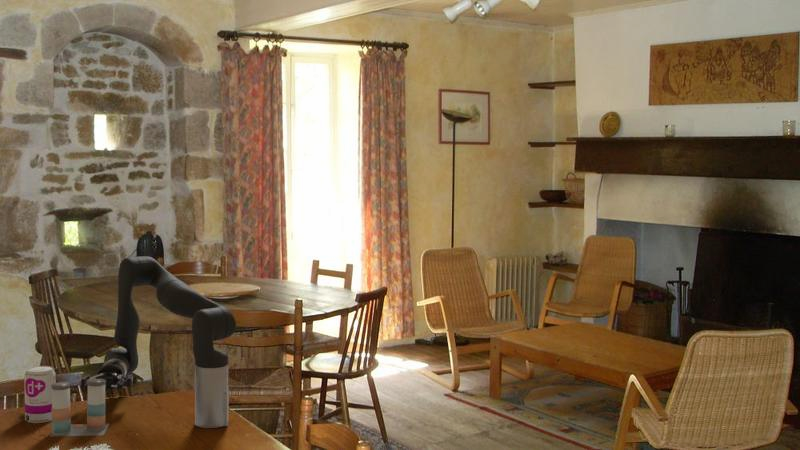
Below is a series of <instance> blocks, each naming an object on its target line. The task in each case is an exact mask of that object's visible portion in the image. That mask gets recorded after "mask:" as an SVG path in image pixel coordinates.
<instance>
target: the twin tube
mask: <svg viewBox="0 0 800 450" xmlns="http://www.w3.org/2000/svg"><path fill="white" fill-rule="evenodd" d="M51 388H52V420H51V433H52V434H53V435H66V434H69V433H70V430H71V423H72V418H71V410H72V409H71V406H72V405H71V383H70V382H63V381H60V382H59V381H58V383H54V384H52V385H51Z"/></svg>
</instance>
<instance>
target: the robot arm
mask: <svg viewBox="0 0 800 450" xmlns="http://www.w3.org/2000/svg"><path fill="white" fill-rule="evenodd" d="M117 281H118V282H117V317H116V324H115V329H114V336H113V340H114V341H113V342H114V344H116V345H117V346H120V347H121V348H119V347H111V348H109V349H108V350H107V351H106V353H105V355H104V359H103V360H104V362H103V365H102V366H101V367H100V369H99V371H98V372H97V373H96V375H93V376H90V374H84V376H83V377H82V378H80V388H81V389H84V391H86V392H88V385H87V381H88V380H91V379H104V380H106V384H105V390H113V389H116V391H117V392H119V391H121V390H123V389H125V387H127V388H131V387H132V386H133V382H134V381H133V380H134V374H133V372H135V371H136V370H137V368H138V366H139V354H138V349H137V348H138V346H137V344H138V343H137V340H138V334H139V329H140V316H139V313H138V311H137V309H136V307H135V304H134V302H133V300H132V299H133V298H132V293H133V288H134V287H143V286H145V287H146V286H151V287H154V288H155V289H156V293H155V294H156V298H157V301H158V303H159V304H160V305H161V306H162V307H164V308H165V309H166V310H167V311H169V312H171V313H172V314H174V315H176V316H180V317H183V318H188V319H191V320H192V321H191V333H192V353H193V357H194V424H195V426H196V427H199V428H202V429H217V428H221V427H228V425H229V396H230V395H229V394H230V393H229V391H230V389H229V356H228V354H227V353H226V352H225V351H221V350H217V349H215V348H214V342H215V341H221V340H226V339H229V338H230V337H231V336H233V335H234V333H235V332H236V330H237V322H236V319H235V316H234V314H233V313H232V312H231V310H229V309H228V308H227V307H225V306H224V305H222V304H219V303H218V302H215V301H213V300H211V299H210V298H207V297H206V296H204V295H203V294H201V293H200V292H199V291H197V290H195V289H194V288H192V287H191V286H190V285H188V284H187V283H185V282H184V281H182V280H181V279H179V278H177V277H176V276H175V275H174V274H172V273H171V272H169V271H168V270H166V268H164V266H162V265H161V264H160V263H159V262H158V261H157V260H156V259H155V258H153V257H152V256H146V255H145V256H144V255H142V256H130V257H125V258H123V259H122V260H121V261H120V263H119V267H118V278H117ZM123 348H124V349H123ZM127 373H129V374H127Z"/></svg>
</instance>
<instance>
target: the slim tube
mask: <svg viewBox="0 0 800 450" xmlns="http://www.w3.org/2000/svg"><path fill="white" fill-rule="evenodd" d="M105 384H106V380H104V379H91V380H88V381H87V385H88V391H87V402H86V424H87V429H88V430H90V431H99V430H103V429H104V428H105V424H106V388H105Z"/></svg>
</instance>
